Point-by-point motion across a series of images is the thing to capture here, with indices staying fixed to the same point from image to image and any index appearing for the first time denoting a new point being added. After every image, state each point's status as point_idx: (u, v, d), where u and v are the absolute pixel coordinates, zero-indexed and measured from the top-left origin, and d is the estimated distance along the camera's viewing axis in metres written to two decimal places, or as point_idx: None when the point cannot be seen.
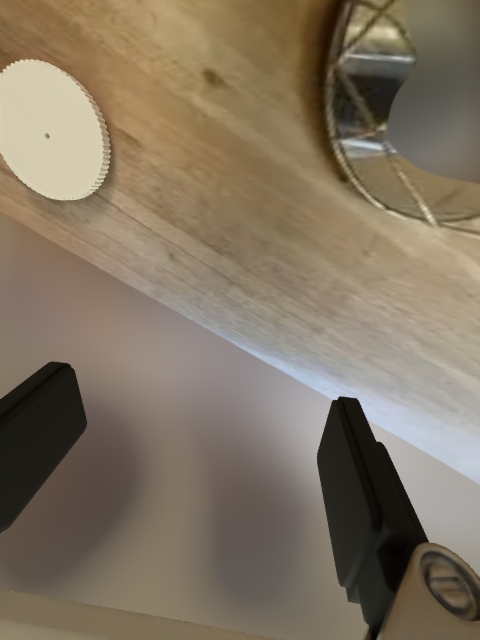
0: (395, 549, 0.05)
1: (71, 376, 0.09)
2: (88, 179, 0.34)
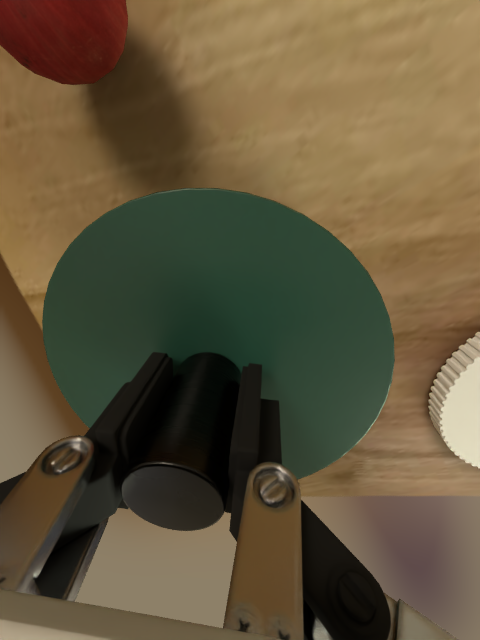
0: (248, 469, 0.07)
1: (171, 365, 0.10)
2: None
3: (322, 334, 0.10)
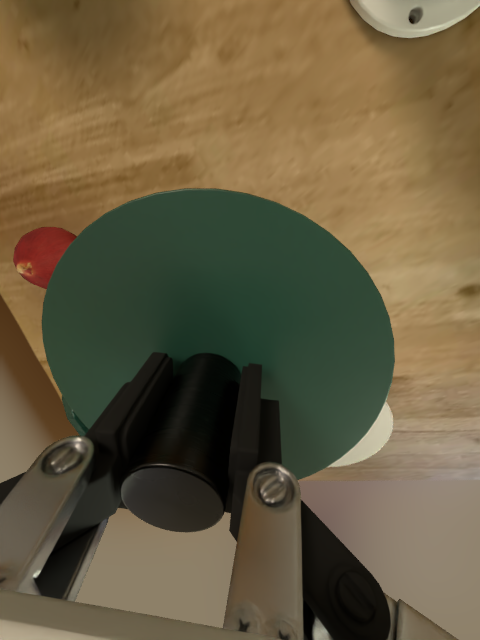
0: (247, 469, 0.07)
1: (171, 365, 0.10)
2: (382, 437, 0.32)
3: (322, 335, 0.10)
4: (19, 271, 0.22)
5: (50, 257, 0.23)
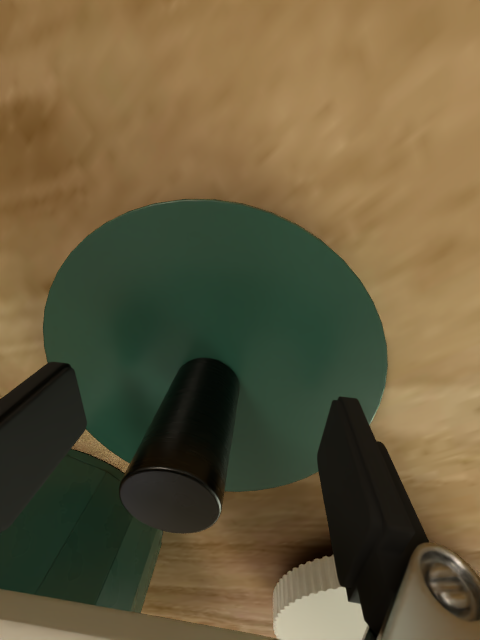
0: (395, 549, 0.05)
1: (71, 376, 0.09)
2: None
3: (317, 340, 0.10)
4: None
5: None
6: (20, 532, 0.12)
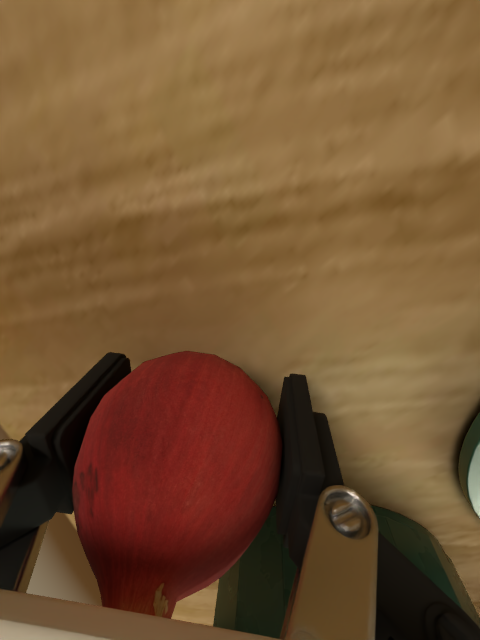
0: (311, 492, 0.06)
1: (127, 366, 0.10)
2: None
3: None
4: None
5: (227, 530, 0.06)
6: None
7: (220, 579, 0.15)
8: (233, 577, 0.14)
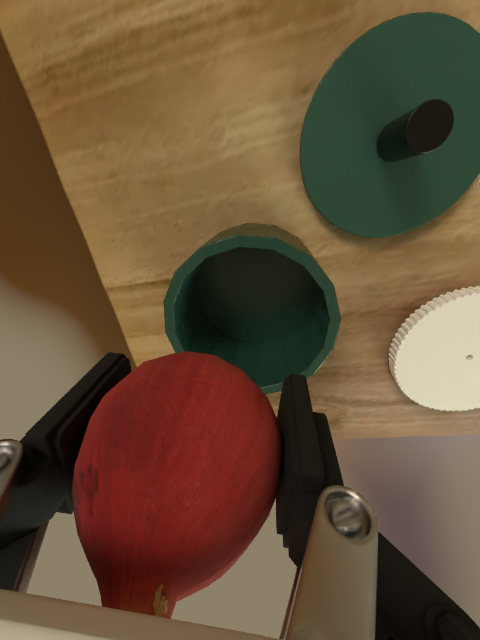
0: (311, 492, 0.06)
1: (127, 366, 0.10)
2: None
3: (465, 101, 0.20)
4: None
5: (227, 530, 0.06)
6: (283, 234, 0.22)
7: None
8: None
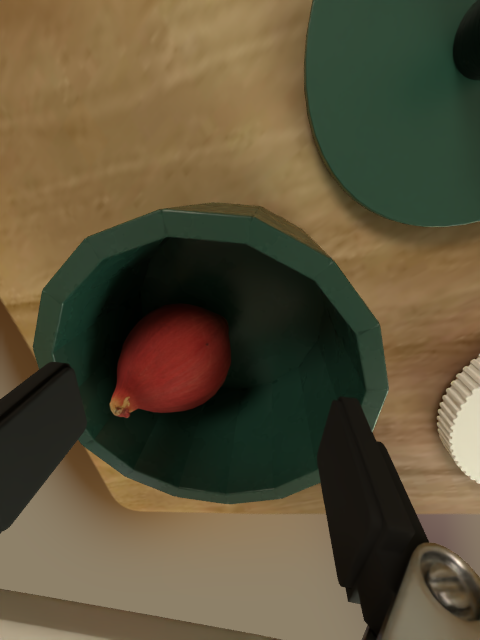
0: (395, 549, 0.05)
1: (71, 376, 0.09)
2: None
3: None
4: None
5: (156, 392, 0.12)
6: (272, 217, 0.11)
7: None
8: None
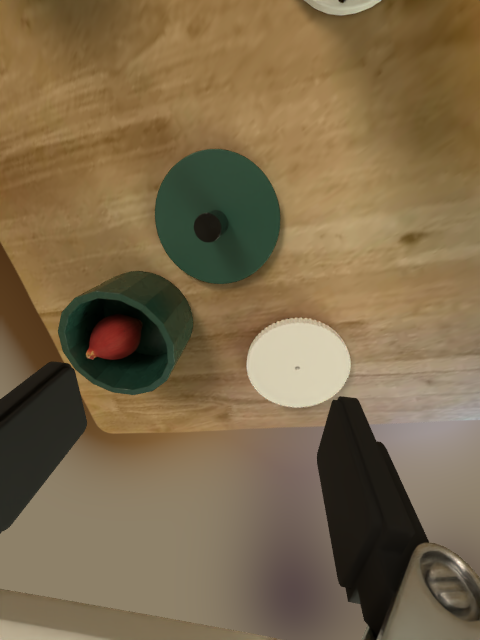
0: (395, 549, 0.05)
1: (71, 376, 0.09)
2: (342, 376, 0.36)
3: (254, 200, 0.30)
4: (87, 357, 0.33)
5: (103, 349, 0.33)
6: (143, 284, 0.32)
7: None
8: None
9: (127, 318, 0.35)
